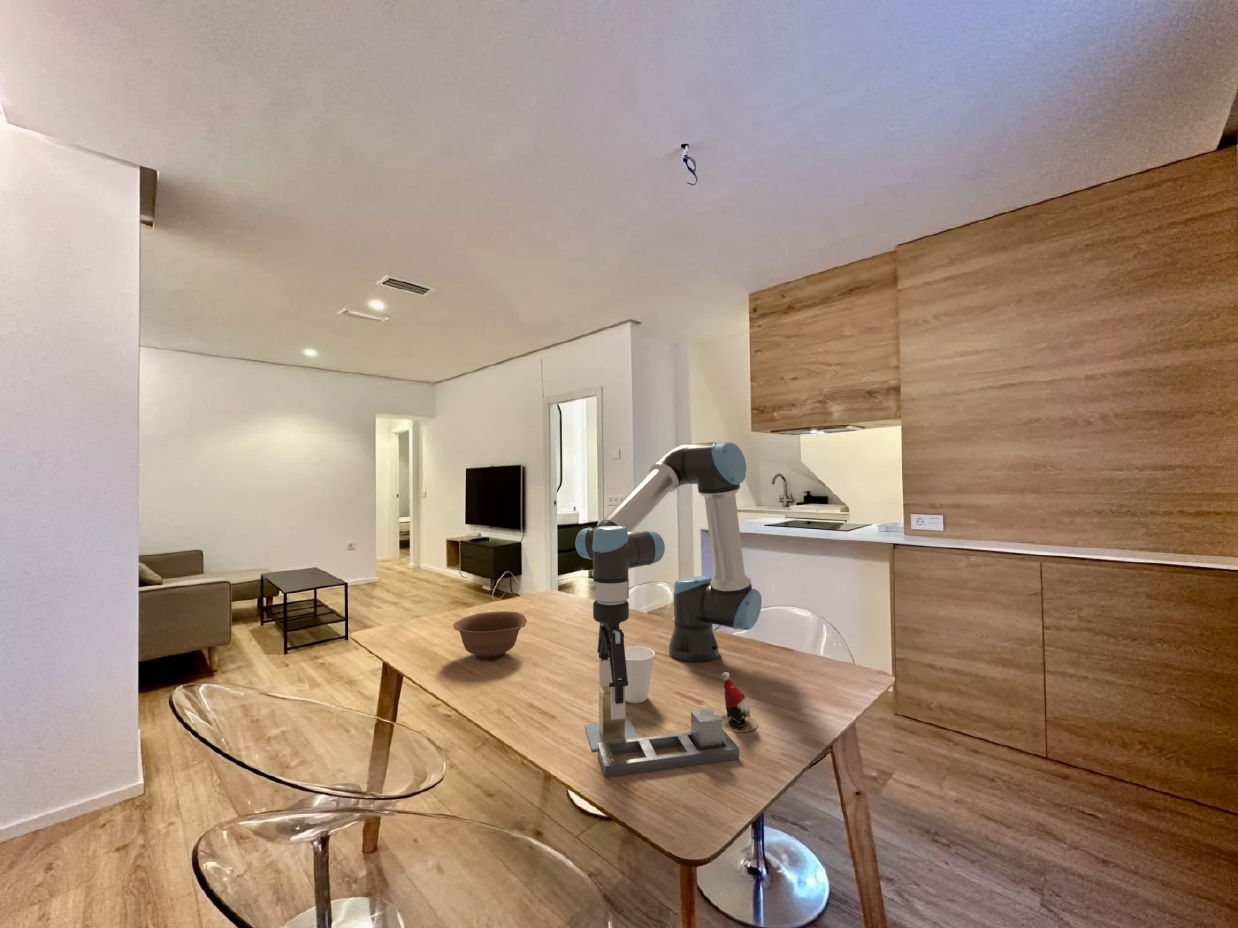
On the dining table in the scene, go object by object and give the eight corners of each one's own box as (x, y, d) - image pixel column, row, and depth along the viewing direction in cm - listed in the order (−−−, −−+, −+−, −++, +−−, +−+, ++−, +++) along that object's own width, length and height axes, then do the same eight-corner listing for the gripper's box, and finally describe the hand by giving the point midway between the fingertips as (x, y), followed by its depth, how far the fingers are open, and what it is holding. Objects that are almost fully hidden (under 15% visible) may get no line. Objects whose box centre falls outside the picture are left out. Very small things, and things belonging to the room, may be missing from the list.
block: (712, 743, 99) (712, 708, 99) (722, 756, 94) (722, 719, 95) (691, 746, 98) (691, 711, 98) (700, 759, 93) (699, 721, 94)
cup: (659, 692, 123) (659, 648, 123) (649, 710, 114) (648, 662, 114) (622, 687, 126) (622, 644, 126) (609, 704, 117) (608, 657, 117)
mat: (629, 721, 108) (629, 719, 108) (641, 745, 98) (641, 743, 98) (584, 726, 106) (584, 724, 106) (591, 751, 96) (591, 749, 96)
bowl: (542, 652, 153) (541, 616, 153) (488, 676, 134) (488, 635, 135) (492, 640, 165) (492, 607, 165) (436, 660, 146) (436, 623, 146)
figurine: (776, 709, 105) (736, 679, 103) (752, 750, 103) (710, 720, 101) (756, 694, 113) (718, 665, 111) (732, 732, 111) (694, 703, 109)
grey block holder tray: (722, 737, 101) (721, 727, 101) (739, 759, 93) (739, 748, 93) (597, 753, 96) (597, 742, 96) (605, 777, 88) (605, 766, 88)
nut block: (620, 727, 105) (619, 684, 105) (625, 738, 100) (624, 693, 101) (599, 729, 104) (598, 686, 104) (602, 740, 99) (602, 695, 100)
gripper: (584, 588, 115) (585, 681, 114) (603, 617, 90) (604, 734, 90) (616, 587, 116) (616, 678, 115) (643, 614, 92) (644, 730, 91)
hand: (611, 703), depth 103 cm, fingers open, 13 cm apart
